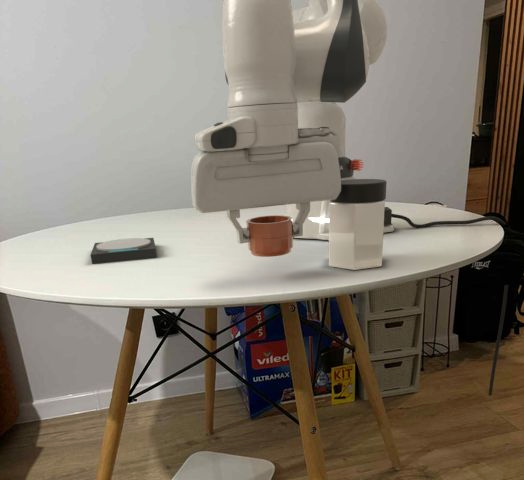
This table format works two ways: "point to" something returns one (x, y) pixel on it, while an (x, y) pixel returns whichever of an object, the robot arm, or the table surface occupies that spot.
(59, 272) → the table surface
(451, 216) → the table surface
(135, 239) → the scale
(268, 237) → the cup
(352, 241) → the jar
